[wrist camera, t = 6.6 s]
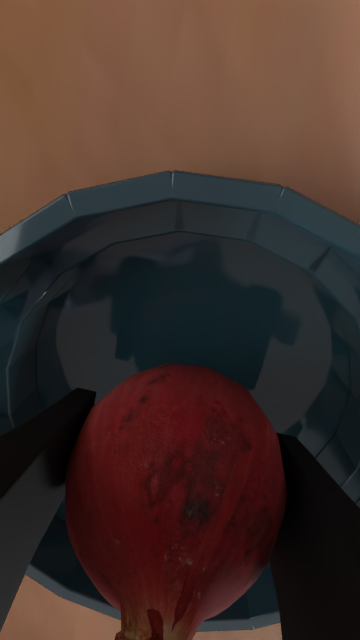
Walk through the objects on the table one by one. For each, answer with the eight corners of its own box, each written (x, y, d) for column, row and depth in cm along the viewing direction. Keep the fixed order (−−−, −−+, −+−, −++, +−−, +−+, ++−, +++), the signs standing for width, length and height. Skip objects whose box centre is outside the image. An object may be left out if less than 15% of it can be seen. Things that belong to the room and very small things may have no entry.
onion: (149, 297, 12) (51, 475, 4) (292, 372, 12) (432, 646, 5) (86, 420, 14) (-62, 697, 6) (212, 480, 14) (221, 800, 7)
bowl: (-29, 443, 16) (-114, 531, 12) (78, 99, 11) (-4, 34, 7) (258, 561, 17) (276, 681, 13) (472, 303, 12) (617, 359, 8)
